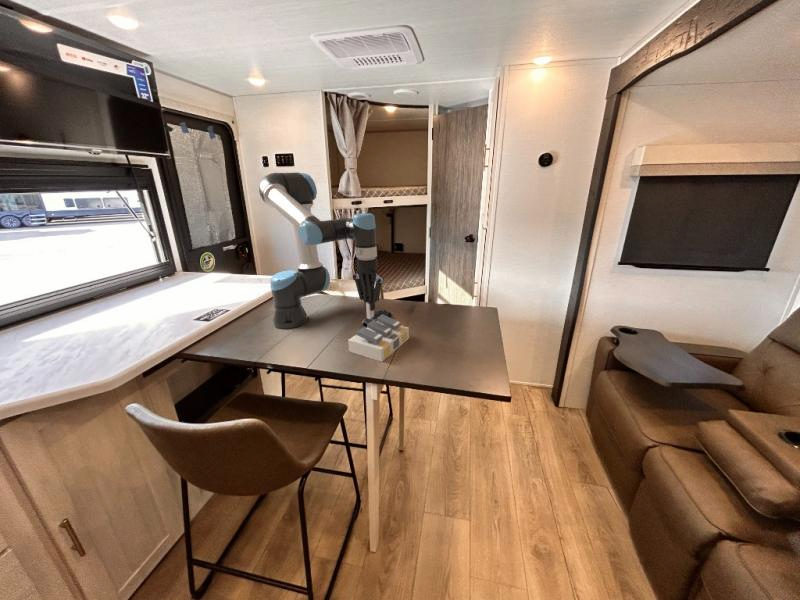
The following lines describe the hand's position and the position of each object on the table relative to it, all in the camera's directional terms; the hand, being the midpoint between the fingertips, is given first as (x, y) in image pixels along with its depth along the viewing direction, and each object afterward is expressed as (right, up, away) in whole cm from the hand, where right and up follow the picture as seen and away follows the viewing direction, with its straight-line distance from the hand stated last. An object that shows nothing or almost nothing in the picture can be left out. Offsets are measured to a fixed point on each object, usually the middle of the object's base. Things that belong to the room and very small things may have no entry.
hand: (370, 317), depth 121 cm
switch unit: (+4, -11, +2) cm, 12 cm away
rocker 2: (+3, -5, 0) cm, 6 cm away
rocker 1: (0, -7, -5) cm, 9 cm away
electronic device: (+1, -4, +23) cm, 23 cm away
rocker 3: (+7, -3, +5) cm, 9 cm away
